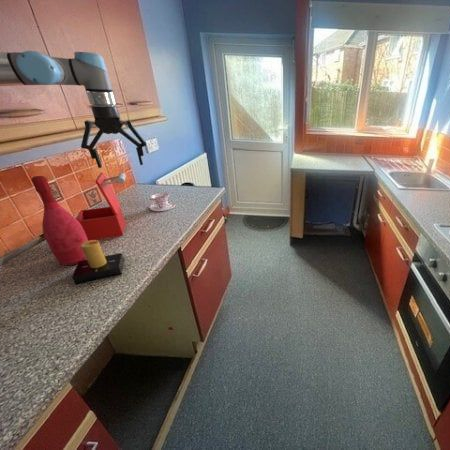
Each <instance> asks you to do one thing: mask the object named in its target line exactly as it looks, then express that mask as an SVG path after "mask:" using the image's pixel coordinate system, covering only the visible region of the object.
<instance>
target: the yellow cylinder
mask: <svg viewBox="0 0 450 450" xmlns="http://www.w3.org/2000/svg"><path fill="white" fill-rule="evenodd" d="M81 248H82V250H83V252H84V254H85V256H86V259H87V261H88V263H89V265H90V267H91V268H99V267H101V266H103V265H105V264H106V263H107V261H106V259H105V256H106V255H105V254H104V251H103V249H102V246H101V244H100V241H99V239H97V240H90V241H86V242H84V243H82V244H81Z"/></svg>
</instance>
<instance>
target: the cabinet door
mask: <svg viewBox="0 0 450 450" xmlns="http://www.w3.org/2000/svg"><path fill="white" fill-rule="evenodd" d="M126 178H127V175H126V173H124V172H120V173H119V174H118V175H116V176H111V177H106V175H105V173H104V172H103V171H102V172H100V173H99V174H98V176H97V177H96V179H95V181H94V183H95V184H96V186H97V187H98V189H99V191H100V193H101V194H102V195H103V198H104V199H105V201H106V203H107V204H108V207H110V208H111V209H112V211H113V213H114V215H117V214H118V211H119V207H121V202H120V201H119V199H118V196H117V195H116V193H115V192H114V190H113V187H112V186H111V185H112V184H115V183H118V184H120V185H122V184H124V183H125V180H126Z"/></svg>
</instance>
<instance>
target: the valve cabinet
mask: <svg viewBox="0 0 450 450" xmlns="http://www.w3.org/2000/svg"><path fill="white" fill-rule="evenodd" d="M75 218H76V219H77V220H78V222H79V223H80V224H81V226H82V227H83V229H84V232H85V234H86V236H87V239H88V241H90V240H102V239H103V240H104V239H108V238H114V237H120V236H124V234H125V229H126V224H127V222H126V220H125V217H124V213H123V210H122V207H121V206H120V207H119V211H118V214H117V215H114V213H113V211H112V209H111V208H110V206H105V207H96V208H88V209H82V210H80V211H79V212H78V214H77V216H76V217H75Z"/></svg>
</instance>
